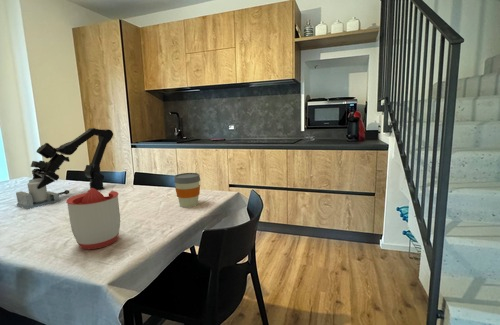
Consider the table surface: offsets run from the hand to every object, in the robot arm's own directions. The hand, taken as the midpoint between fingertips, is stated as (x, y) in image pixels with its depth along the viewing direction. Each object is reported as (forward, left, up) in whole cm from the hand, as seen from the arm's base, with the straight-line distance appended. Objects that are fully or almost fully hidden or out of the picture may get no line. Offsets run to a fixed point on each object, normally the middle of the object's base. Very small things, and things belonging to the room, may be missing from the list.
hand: (34, 187), depth 140 cm
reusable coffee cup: (-51, +65, -9) cm, 84 cm away
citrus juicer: (-7, +75, -9) cm, 76 cm away
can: (-1, 0, -8) cm, 8 cm away
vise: (-5, -1, -9) cm, 10 cm away
